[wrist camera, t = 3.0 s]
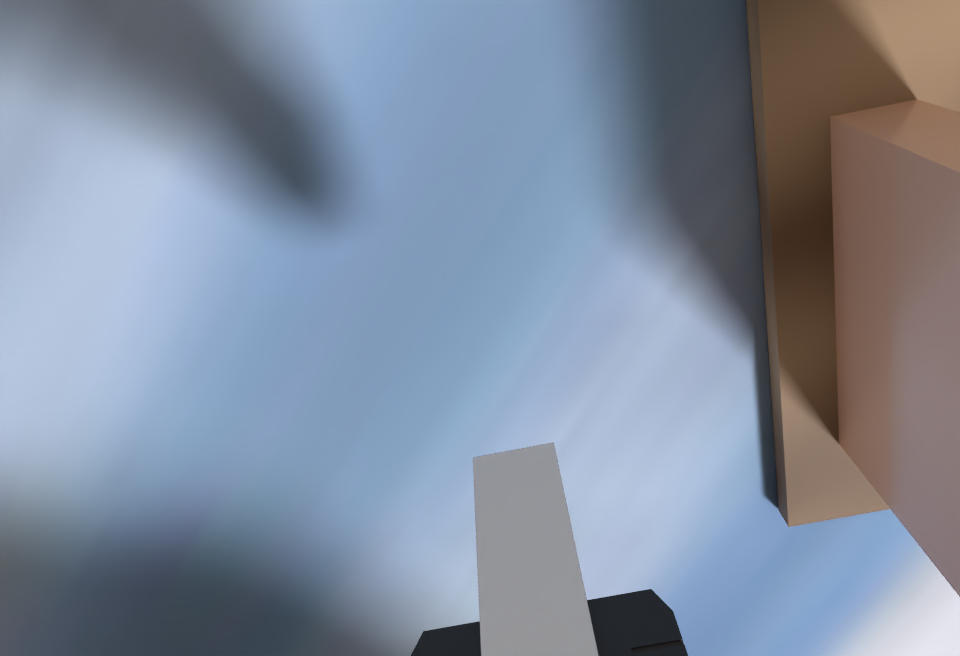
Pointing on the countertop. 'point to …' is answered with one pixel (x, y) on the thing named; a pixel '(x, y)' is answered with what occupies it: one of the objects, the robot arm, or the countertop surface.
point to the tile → (901, 313)
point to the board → (825, 205)
